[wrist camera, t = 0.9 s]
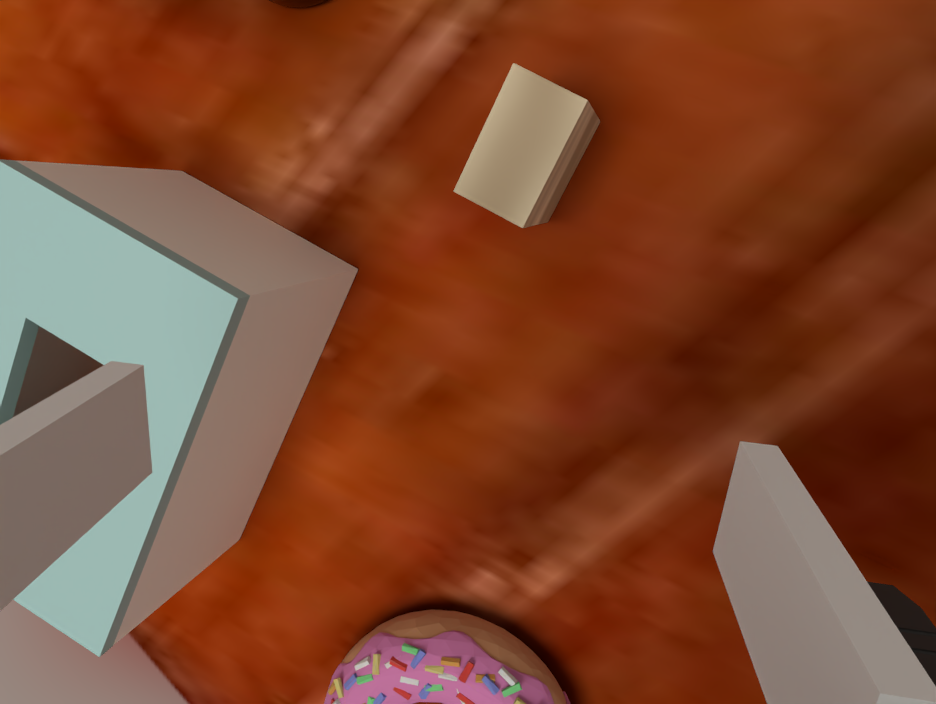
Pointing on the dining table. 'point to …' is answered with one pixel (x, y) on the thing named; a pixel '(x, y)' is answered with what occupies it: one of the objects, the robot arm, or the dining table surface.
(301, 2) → the supplement bottle
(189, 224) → the box
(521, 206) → the beige rectangular block
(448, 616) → the donut
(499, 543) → the dining table surface
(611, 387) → the dining table surface
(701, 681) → the dining table surface
